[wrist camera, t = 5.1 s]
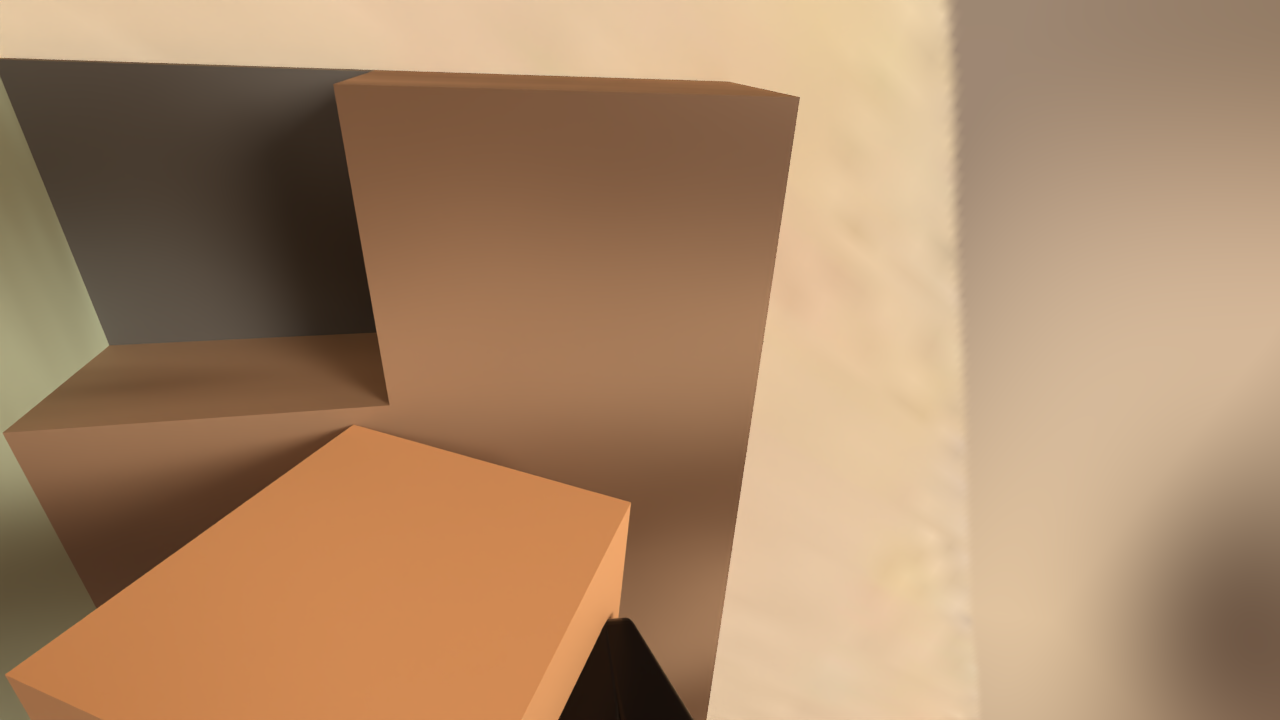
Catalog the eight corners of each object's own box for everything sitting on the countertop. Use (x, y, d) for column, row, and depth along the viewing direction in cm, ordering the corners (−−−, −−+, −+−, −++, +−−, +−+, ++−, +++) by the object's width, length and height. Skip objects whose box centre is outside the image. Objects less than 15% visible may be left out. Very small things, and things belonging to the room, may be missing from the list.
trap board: (673, 638, 18) (703, 739, 15) (-14, 746, 15) (-123, 900, 12) (728, 82, 11) (799, 97, 8) (-562, 39, 8) (-1099, 43, 5)
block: (608, 708, 10) (465, 1086, 7) (382, 626, 11) (143, 911, 8) (631, 502, 8) (443, 875, 5) (353, 424, 9) (3, 674, 6)
